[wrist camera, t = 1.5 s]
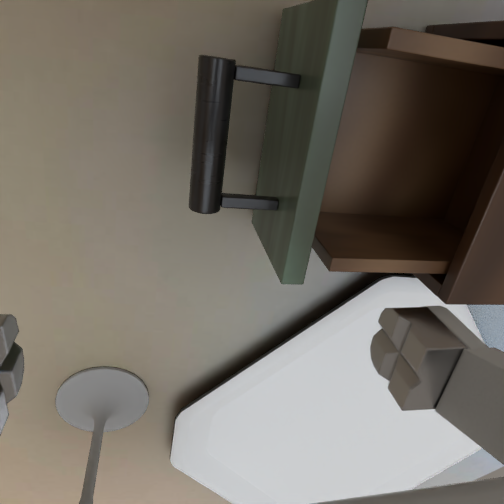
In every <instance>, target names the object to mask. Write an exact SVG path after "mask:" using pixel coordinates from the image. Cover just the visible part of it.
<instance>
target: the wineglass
mask: <svg viewBox="0 0 504 504" xmlns="http://www.w3.org/2000/svg"><path fill="white" fill-rule="evenodd" d="M148 400H149V394H148V390H147V387H146V386H145V384H144V383H143V381H142V380H141V379H140V378H138V377H137V376H136V375H134V374H132V373H130V372H128V371H126V370H123V369H119V368H115V367H95V368H90V369H86V370H83V371H80V372H78V373H76V374H74V375H72V376H71V377H69V378H68V379H67V380H66V381H64V382H63V384H62V385H61V387H60V388H59V390H58V393H57V396H56V408H57V411H58V413H59V415H60V416H61V417H62V418H63V419H64V420H65V421H66V422H67V423H69V424H70V425H72V426H74V427H76V428H79V429H81V430H86V431H91V432H93V436H92V441H91V447H90V452H89V457H88V463H87V468H86V474H85V479H84V484H83V490H82V495H81V499H80V502H79V504H93V494H94V487H95V481H96V475H97V468H98V462H99V456H100V450H101V443H102V437H103V432H108V431H115V430H118V429H122V428H125V427H127V426H129V425H131V424H133V423H134V422H135V421H137V420H138V419H139V418H140V417H141V416H142V415H143V414H144V412H145V411H146V408H147V406H148Z"/></svg>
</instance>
